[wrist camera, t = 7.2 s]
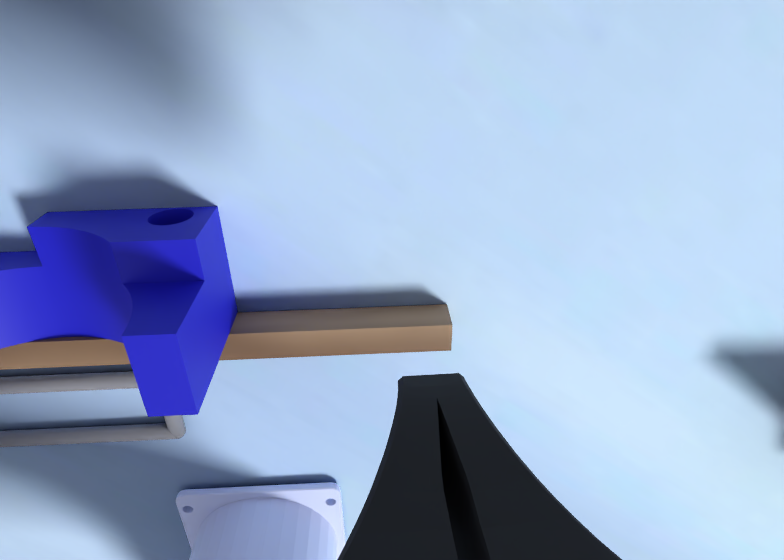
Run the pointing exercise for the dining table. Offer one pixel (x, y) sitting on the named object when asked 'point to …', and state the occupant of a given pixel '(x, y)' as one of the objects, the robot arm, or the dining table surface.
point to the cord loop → (77, 435)
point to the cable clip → (128, 294)
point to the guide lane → (271, 337)
